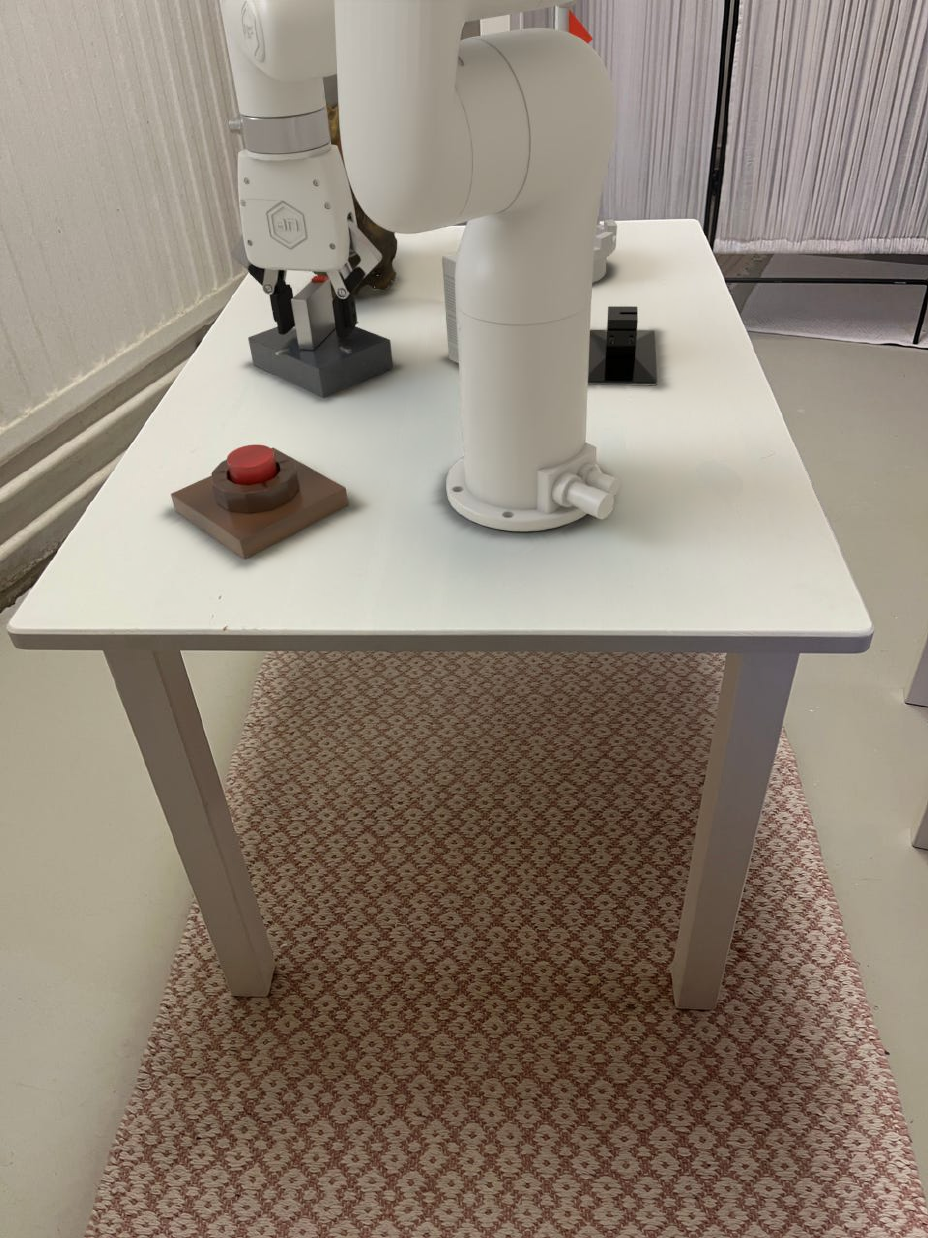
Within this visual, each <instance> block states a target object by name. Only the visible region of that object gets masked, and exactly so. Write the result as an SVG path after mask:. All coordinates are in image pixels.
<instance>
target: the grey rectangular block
mask: <svg viewBox="0 0 928 1238" xmlns="http://www.w3.org/2000/svg"><path fill="white" fill-rule="evenodd" d="M332 300H333V299H332V293H331V286H330V279H329V278H327V276H318V275H315V276H313V277H312V278H311V281H310V282H309V283H308V284H306V285H305V286H304V287H303V288H302V289H300V291H298V292H297V294H295V295H293V298H292V299H291V303H292V309H293V315H294V321H295V327H296V333H297V339H298V345H299V349H303V350H314V349H315V348H316V347H317V346H318V345H319V344H320V343H321V342H322V341H323V340H324V339H325V338H326V337H327V336H328V335H329V334H330V333H331V332H332V331H333V330H334V329H335V320H334V313H333V305H332Z"/></svg>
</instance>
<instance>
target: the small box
mask: <svg viewBox="0 0 928 1238" xmlns="http://www.w3.org/2000/svg"><path fill="white" fill-rule="evenodd" d="M457 256H458V251H455V252H453V253H449V254H445V255H442V257H441V266H442V279H443V280H442V281H443V294H444V310H445V325H446V339H447V352H448V353H447V355H448V359H449V360H451V361H453V362H455V363H457V364H458V365H459V355H458V337H457V319H456V297H455V269H456V261H457Z"/></svg>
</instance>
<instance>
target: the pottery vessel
mask: <svg viewBox="0 0 928 1238" xmlns="http://www.w3.org/2000/svg"><path fill="white" fill-rule="evenodd" d="M326 107H327V115H328V123H329V131H330V140H331V145H337V146H338V149H339V152H340V155H341V158H342V161H343V164H344V167H345V163H344V158H343V152H342V145H341V136H340V125H339V106H338V105H337V106H335V107H334V108H332V107H331V106H330V105H329V104H328V103H327V102H326ZM345 171H346V168H345ZM346 174H347V172H346ZM347 178H348V176H347ZM348 182H349V179H348ZM349 186H350V191H351V195H352V200H353V205H354V210H355V216H356V222H357V227H358V229H359V230H360V231H361V232H362V233H363V234H364V235H365V236H366V237H367V239H368V240H369V241H370V242H371V243H372V244H373V245H374V246H375V247H376V249H377V250H378V251H379V252H380V253H381V255H382V259H381V261H380V262H379V263H378V264H377V265H376V266H375V267H374V268H373V269H372V270H371V271H370V272H369V273H368V274H367V276H366V277H365V278H364V279H363V280H362V281H361V283H360V284H359V285H358V286H357V287H356V289H355V290H354V297H357V295H358V294H359V292H360V291H361V289H363V288H365V287H370V288H372V291H375V290H378V291H382V292H383V291H386V290H388V288H389V287H390V286H391V285H392V284H393V282H394V281H395V279H396V278H397V273H396V271H395V269H394V267H393V261H394V260H395V258H396V255H397V253H398V238H396V233H395V232H391V231H388V230H386V229H384V228H382V227H380V226H379V225H377V224H376V223H374V222H373V221H372V220H371V219H370V218H369V217H368V216H367V215H366V214H365V212H364V211H363V209H362V208H361V206H360V205H359V203H358V201H357V199H356V197H355V195H354V193H353V190H352V188H351V185H350V182H349ZM348 261H349V264H350V266H351V268H352V270H354V268H355V267H356V266H357V265H358V264H359V263H360V261H361V259H360V256H359V255H358V254H356V255H354V256H352V257H349V258H348ZM311 272H312V273H313V274H314V275H315V276H327V278H329V277H328V275H327V273H326V272H313V271H311ZM330 286H331V293H332V300H333V299H334V298H335V297H336V292H335V290H334V288H333V286H332V283H331V281H330Z"/></svg>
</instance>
